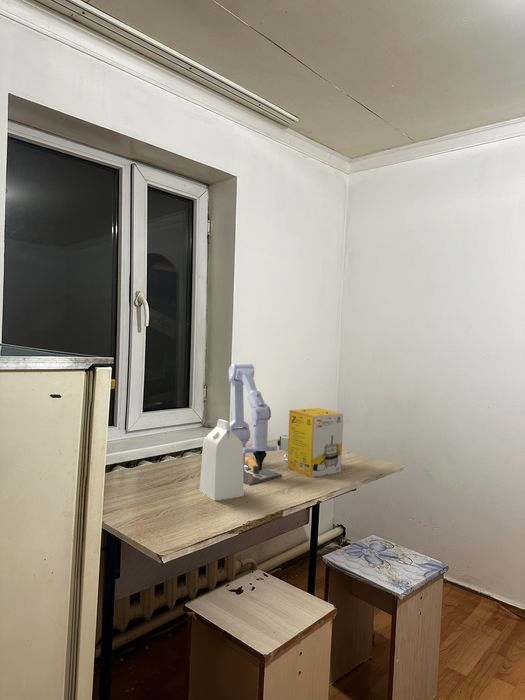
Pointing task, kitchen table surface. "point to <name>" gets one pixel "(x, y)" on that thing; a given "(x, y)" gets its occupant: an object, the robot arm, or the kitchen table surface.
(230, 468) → the milk
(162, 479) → the kitchen table surface
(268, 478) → the panel
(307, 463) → the packaging box
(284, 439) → the pneumatic valve
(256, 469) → the bar
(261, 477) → the label
